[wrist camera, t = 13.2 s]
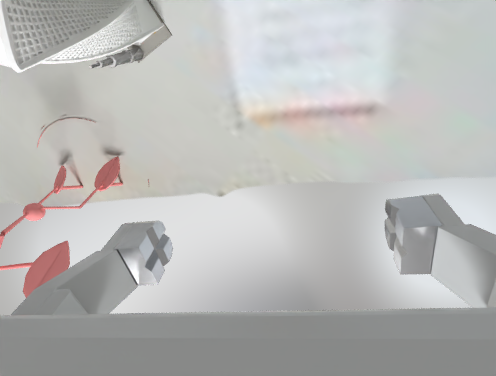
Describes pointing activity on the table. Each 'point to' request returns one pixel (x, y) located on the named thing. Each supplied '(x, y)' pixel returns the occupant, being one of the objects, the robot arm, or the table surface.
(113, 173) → the figurine
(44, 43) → the skyscraper
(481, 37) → the table surface
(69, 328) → the robot arm
